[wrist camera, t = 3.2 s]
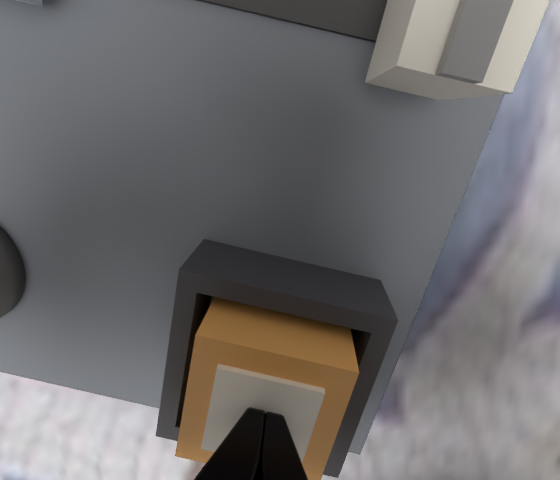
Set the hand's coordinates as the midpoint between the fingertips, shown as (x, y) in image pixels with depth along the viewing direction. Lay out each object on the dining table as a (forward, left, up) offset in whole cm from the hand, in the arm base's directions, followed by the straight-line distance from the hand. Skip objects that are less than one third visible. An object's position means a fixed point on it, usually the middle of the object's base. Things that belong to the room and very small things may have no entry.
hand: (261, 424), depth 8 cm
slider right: (-1, -9, -3) cm, 10 cm away
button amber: (0, 0, -3) cm, 3 cm away
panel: (+4, -4, -5) cm, 8 cm away
